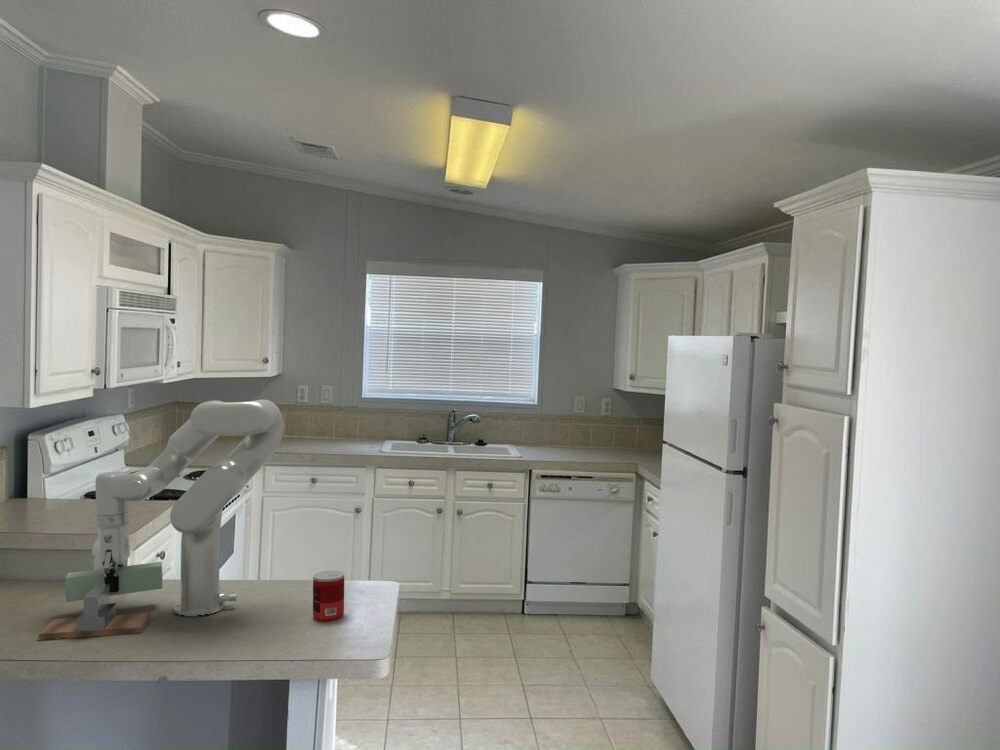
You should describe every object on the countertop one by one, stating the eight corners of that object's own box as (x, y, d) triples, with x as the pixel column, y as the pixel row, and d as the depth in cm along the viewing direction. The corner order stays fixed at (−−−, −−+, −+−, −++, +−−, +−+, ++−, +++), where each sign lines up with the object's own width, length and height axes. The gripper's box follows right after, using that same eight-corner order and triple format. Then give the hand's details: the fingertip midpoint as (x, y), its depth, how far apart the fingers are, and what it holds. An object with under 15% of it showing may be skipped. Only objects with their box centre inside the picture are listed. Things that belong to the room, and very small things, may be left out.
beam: (162, 583, 195) (161, 561, 194) (162, 588, 190) (161, 566, 190) (68, 596, 186) (68, 573, 186) (66, 602, 181) (65, 578, 181)
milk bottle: (128, 586, 208) (128, 518, 208) (109, 595, 200) (109, 524, 200) (104, 585, 209) (104, 516, 209) (84, 593, 202) (85, 522, 201)
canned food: (349, 614, 188) (350, 572, 188) (330, 624, 181) (331, 580, 181) (326, 609, 191) (326, 568, 191) (306, 619, 184) (306, 576, 184)
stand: (150, 618, 183) (150, 581, 183) (141, 633, 173) (141, 593, 173) (53, 625, 177) (53, 587, 177) (38, 640, 168) (38, 600, 167)
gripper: (120, 525, 180) (122, 597, 180) (136, 512, 197) (138, 577, 197) (87, 528, 178) (89, 600, 179) (106, 514, 195) (108, 580, 195)
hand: (115, 587), depth 188 cm, fingers closed on beam, 5 cm apart
